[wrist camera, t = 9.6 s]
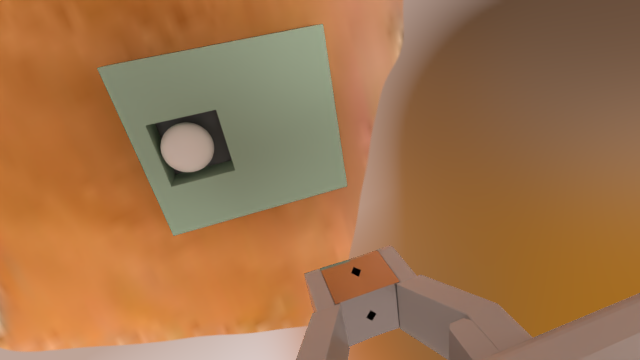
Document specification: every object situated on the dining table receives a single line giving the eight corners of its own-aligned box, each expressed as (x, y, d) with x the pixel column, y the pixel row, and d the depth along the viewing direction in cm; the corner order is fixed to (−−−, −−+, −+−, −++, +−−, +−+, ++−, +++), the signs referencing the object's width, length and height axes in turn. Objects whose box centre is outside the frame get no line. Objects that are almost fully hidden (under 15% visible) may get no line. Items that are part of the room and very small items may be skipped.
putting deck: (110, 64, 24) (96, 67, 22) (313, 25, 27) (322, 23, 24) (178, 218, 30) (173, 235, 28) (337, 174, 33) (347, 186, 30)
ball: (141, 134, 23) (193, 129, 23) (168, 118, 27) (213, 113, 27) (161, 183, 25) (209, 178, 25) (183, 161, 29) (226, 158, 28)
